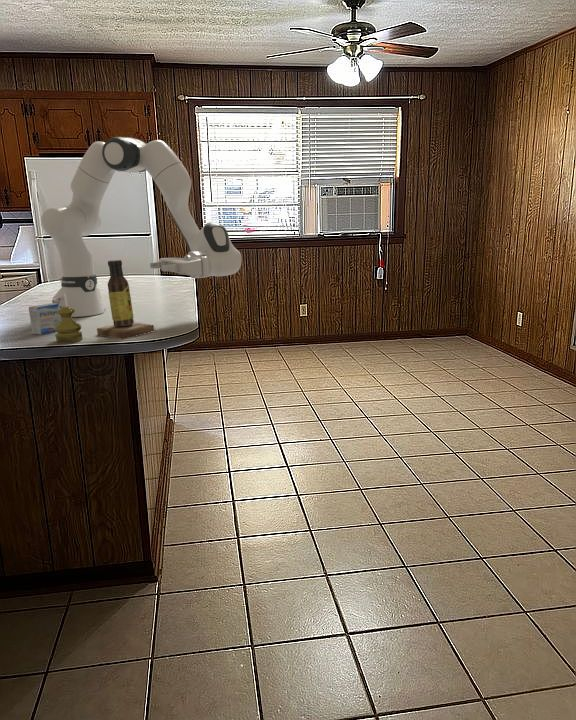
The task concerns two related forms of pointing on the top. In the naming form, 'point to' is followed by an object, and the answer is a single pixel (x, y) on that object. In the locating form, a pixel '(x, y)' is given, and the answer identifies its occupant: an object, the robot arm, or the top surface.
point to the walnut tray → (125, 330)
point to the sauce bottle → (119, 295)
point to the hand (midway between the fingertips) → (156, 267)
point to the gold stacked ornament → (67, 327)
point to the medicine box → (44, 318)
